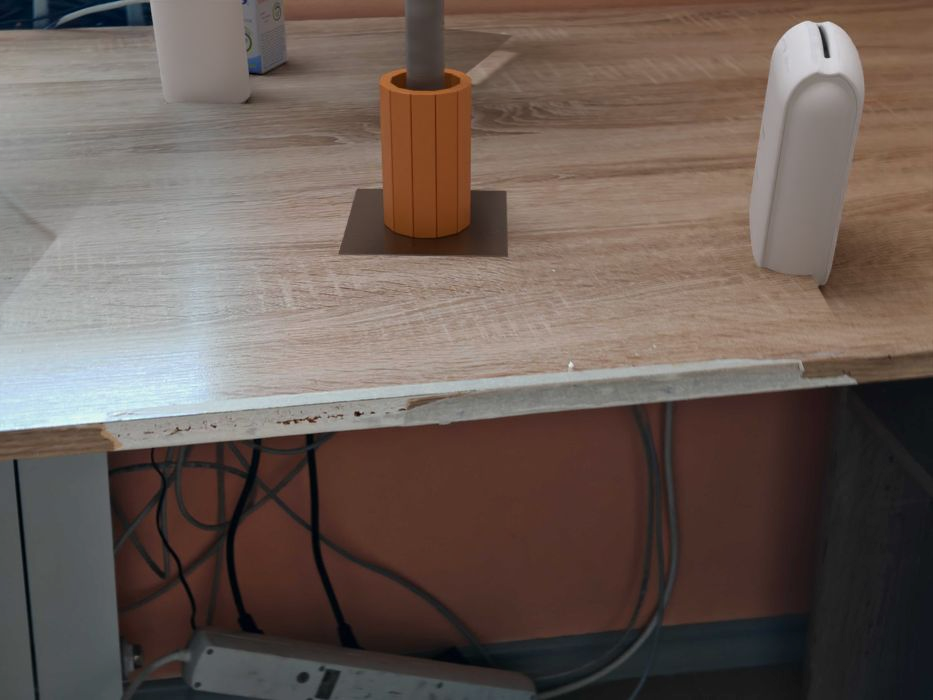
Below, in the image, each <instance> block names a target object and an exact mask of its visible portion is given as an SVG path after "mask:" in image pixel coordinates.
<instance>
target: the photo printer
mask: <svg viewBox="0 0 933 700" xmlns="http://www.w3.org/2000/svg"><path fill="white" fill-rule="evenodd" d="M766 85H767V86H766V92H765V98H764V105H763V109H762V110H763V111H762V117H761V123H760V131H759V137H758V145H757V151H756V156H755V157H756V158H755V164H754V171H753V177H752V178H753V179H752V186H751V192H750V199H749V209H748V210H749V211H748V216H749V217H748V219H749V221H748V223H749V237H750V244H751V251H752V257H753V259H754V262H755V264H756V265H757V267H758V268H760V269H768V270H771V271H773V272H778V273H780V274H783V275H784V274H785V275H789V276H811V277H812V280H813V281H814V283H815V284H816V286H817V287H819V286H825V285H826V284H827V282H828V280H829V277H830V274H831V270H832V266H833V262H834V256H835V251H836V247H837V241H838V237H839V232H840V231H839V230H840V225H841V220H842V215H843V209H844V205H845V200H846V194H847V188H848V184H849V179H850V175H851V168H852V163H853V158H854V152H855V147H856V143H857V139H858V133H859V129H860V123H861V119H862V114H863V111H864V104H865V97H866V94H865V93H866V90H865V88H866V87H865V86H866V85H865V77H864V71H863V65H862V62H861V58H860V54H859V51H858V49H857V46H856V45H855V44H854V42H853V40H852V39H851V37H850V36H849V35H848V33H847V32H846V31H845V30H844V29H843V28H841V26H839V25H837V24H835V23H834V22H832V21H823V22H813V21H811V20H804V21H802V22H800V23H798V24H796V25H794V26H792V27H791V28H789V29H788V30H787V31H786V32H785V33H784V34H782V36H781V37H780V39H779V40H778V42H777V43H776V45H775V47H774V49H773V51H772V55H771V59H770V64H769V72H768V80H767V84H766Z"/></svg>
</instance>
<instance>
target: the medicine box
mask: <svg viewBox="0 0 933 700" xmlns="http://www.w3.org/2000/svg"><path fill="white" fill-rule="evenodd" d="M284 6H285V5H284V0H242V10H243V20H244V30H245V40H246V50H247V61H248V71H249V74H251V73H252V74H258V75H264V74H265V73H267V72H270V71H271V70H273V69H275V68H277V67H279V66H281V65H282V64H284V63H286V62H287V61H288V48H287V47H288V46H287V32H286V21H285V7H284Z"/></svg>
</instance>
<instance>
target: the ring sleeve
mask: <svg viewBox="0 0 933 700" xmlns="http://www.w3.org/2000/svg"><path fill="white" fill-rule="evenodd" d="M378 86H379V87H378V91H379V94H378V95H379V120H380V122H379V123H380V145H381V146H380V147H381V149H380V150H381V151H380V152H381V170H382V171H381V174H382V175H381V176H382V189H383V205H384V223H385V225H386V226H387V227H389V228H390V229H391V230H392V231H393V232H395V233H398V234H402V235H406V236H409V237H415V238H436V237H438V238H439V237H443V236H448V235H452V234H456V233H459V232H460V231H462V230H463V229H465V228H466V227H468V226H469V224H470V199H471V190H472V189H471V186H472V184H471V183H472V182H471V181H472V180H471V177H472V77H471V76H470V75H468V74H467V73H464V72H463V71H460V70H458V69H452V68H447V67H445V89H443V90H437V91H412V90H407V79H406V68H399V69H396V70H392V71H390V72H387V73H386V74H385V73H384V74H383V75H382V76H380V80H379V83H378Z"/></svg>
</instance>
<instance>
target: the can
mask: <svg viewBox="0 0 933 700" xmlns="http://www.w3.org/2000/svg"><path fill="white" fill-rule="evenodd" d="M149 6H150V12H151V19H152V27H153V34H154V40H155V47H156V54H157V61H158V62H157V63H158V68H159V74H160V81H161V89H162V94H163V99H164V102H165V103H166V104H204V105H205V104H206V105H207V104H211V105H212V104H214V105H223V104H224V105H245V103H247V101H248V99H249V98H250V96H251V85H250V84H251V83H250V72H249V71H248V61H247V50H246V40H245V30H244V20H243V10H242V0H149Z"/></svg>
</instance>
